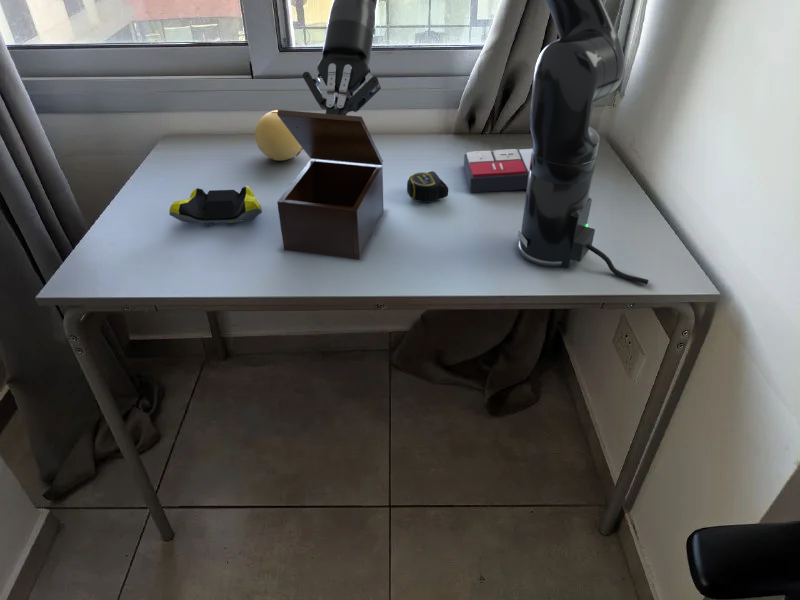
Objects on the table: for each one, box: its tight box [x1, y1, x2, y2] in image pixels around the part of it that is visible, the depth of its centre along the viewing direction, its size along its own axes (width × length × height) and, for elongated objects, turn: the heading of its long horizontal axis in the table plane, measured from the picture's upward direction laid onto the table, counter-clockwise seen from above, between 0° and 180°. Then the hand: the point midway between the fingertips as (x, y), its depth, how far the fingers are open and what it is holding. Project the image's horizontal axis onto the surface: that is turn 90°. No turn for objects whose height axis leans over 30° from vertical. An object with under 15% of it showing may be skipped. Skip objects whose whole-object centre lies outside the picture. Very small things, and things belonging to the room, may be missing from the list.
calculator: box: [463, 148, 532, 193], centre depth 120 cm, size 11×4×15 cm
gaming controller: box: [169, 185, 263, 226], centre depth 107 cm, size 15×6×10 cm
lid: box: [277, 109, 384, 166], centre depth 98 cm, size 17×13×1 cm
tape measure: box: [406, 170, 449, 203], centre depth 114 cm, size 7×7×4 cm
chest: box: [276, 158, 385, 260], centre depth 103 cm, size 16×13×9 cm
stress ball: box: [254, 109, 304, 161], centre depth 126 cm, size 10×10×10 cm
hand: (332, 133), depth 97 cm, fingers closed
